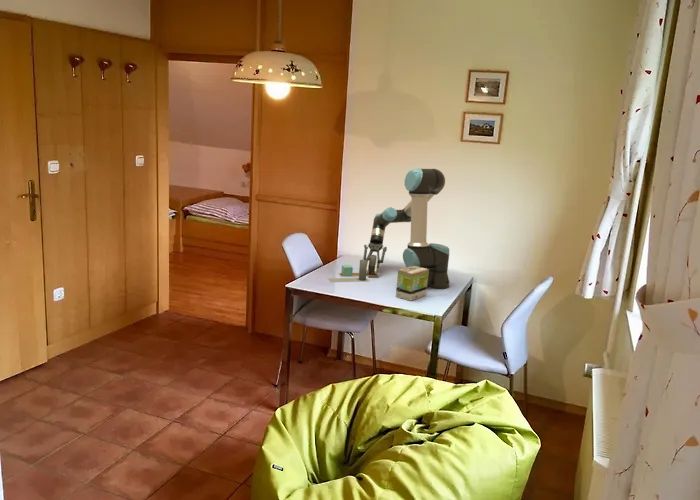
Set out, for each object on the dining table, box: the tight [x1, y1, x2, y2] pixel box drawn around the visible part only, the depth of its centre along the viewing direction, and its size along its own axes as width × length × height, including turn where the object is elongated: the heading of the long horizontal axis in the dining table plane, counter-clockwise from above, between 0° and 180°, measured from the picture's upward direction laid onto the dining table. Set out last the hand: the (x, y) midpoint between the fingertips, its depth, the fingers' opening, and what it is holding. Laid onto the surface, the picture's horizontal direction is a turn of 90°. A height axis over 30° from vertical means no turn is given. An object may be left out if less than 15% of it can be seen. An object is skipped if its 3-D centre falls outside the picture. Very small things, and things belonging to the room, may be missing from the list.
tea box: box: [395, 266, 429, 302], centre depth 320 cm, size 15×10×15 cm, turn 141°
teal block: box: [340, 264, 354, 276], centre depth 349 cm, size 5×5×5 cm
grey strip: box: [327, 259, 370, 283], centre depth 339 cm, size 7×22×12 cm, turn 106°
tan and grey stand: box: [338, 254, 380, 279], centre depth 351 cm, size 7×22×12 cm, turn 106°
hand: (371, 271), depth 350 cm, fingers closed on tan and grey stand, 4 cm apart
